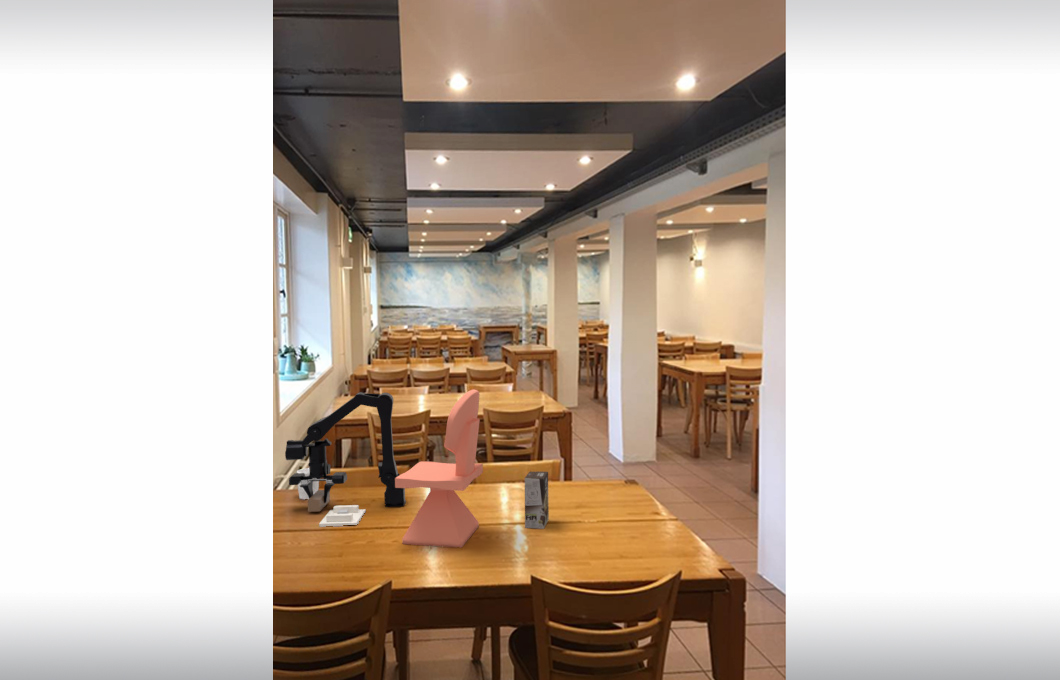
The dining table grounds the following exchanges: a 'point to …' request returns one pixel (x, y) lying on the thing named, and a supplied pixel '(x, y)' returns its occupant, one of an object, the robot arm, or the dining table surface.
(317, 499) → the gray cuboid brick
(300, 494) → the white cup
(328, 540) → the dining table surface
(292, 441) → the robot arm
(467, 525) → the chair
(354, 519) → the display rest
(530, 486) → the coffee box
